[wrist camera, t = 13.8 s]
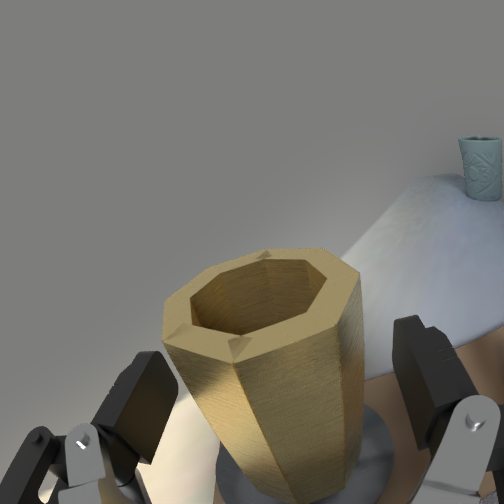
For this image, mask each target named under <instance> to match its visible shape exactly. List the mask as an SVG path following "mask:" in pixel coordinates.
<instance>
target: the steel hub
mask: <svg viewBox="0 0 504 504" xmlns="http://www.w3.org/2000/svg"><path fill="white" fill-rule="evenodd" d="M394 456H395V452H394V443H393V439H392V435H391V433H390V430H389V428H388V426H387V425H386V423H385V422H384V420H383V419H382V418H381V417H380V416H379V414H378V413H377V412H375V411H374V410H373V409H372V408H371V407H369V406H368V405H366V404H364V413H363V431H362V445H361V454H360V456H359V458H358V461H357V463H356V465H355V468H354V470H353V472H352V474H351V477H350V479H349V481H348V483H347V485H346V487H345V488H344V489H343V490H341V491H339V492H336V493H334V494H332V495H329V496H327V497H324V498H322V499H319V500H317V501H314V502H311V503H309V504H376V503H377V502H378V500H379V499H380V497H381V496H382V494H383V492H384V490H385V488H386V486H387V484H388V481H389V479H390V476H391V473H392V469H393V465H394ZM216 481H217V485H218V489H219V492H220V494H221V496H222V498H223V500H224V502H225V503H226V504H290V503H287V502H284V501H281V500H278V499H275V498H273V497H270V496H268V495H265V494H262V493H260V492H258V490H257V489H256V488H255V487H254V485H253V484H252V483H251V482H250V480H249V479H248V478H247V476H246V475H245V474H244V473H243V471H242V470H241V469H240V467H239V466H238V464H237V463H236V462H235V460H234V459H233V458H232V456H231V455H230V453H229V452H228V451H227V449H226V448H225V446H224V445H222V446H221V449H220V451H219V454H218V458H217V463H216Z"/></svg>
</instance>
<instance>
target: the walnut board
mask: <svg viewBox="0 0 504 504" xmlns="http://www.w3.org/2000/svg"><path fill="white" fill-rule="evenodd" d="M454 350H455V351H456V353H457V356H458V357H459V358H460V360H461V362H462V364H463V365H464V367H465V369H466V371H467V373H468V374H469V376H470V378H471V380H472V382H473V384H474V386H475V388H476V390H477V391H478V393H479V394H480V395H482V396H486V397H489V398H490V399H492V400H493V401H494V402H495V403H496V404H499V405H502V404H504V326H502V327H501V328H499V329H497V330H495V331H493V332H491V333H489V334H487V335H485V336H483V337H481V338H479V339H477V340H474V341H472V342H470V343H468V344H466V345H464V346H461V347H459V348H457V349H454ZM364 404H366V405H368V406H369V407H371V408H372V409H373V410H374V411H375V412H377V413H378V414H379V416H380V417H381V418H382V419H383V420H384V422H385V423H386V425H387V426H388V428H389V430H390V433H391V435H392V439H393V443H394V452H395V456H394V465H393V469H392V473H391V476H390V479H389V481H388V484H387V486H386V488H385V490H384V492H383V494H382V496H381V497H380V499H379V500H378V502H377V503H376V504H406V502H407V501H408V499H409V497H410V496H411V494H412V492H413V490H414V489H415V487H416V485H417V483H418V482H419V480H420V478H421V476H422V474H423V472H424V470H425V468H426V466H427V464H428V462H429V460H430V458H431V455H430V451H429V448H427V449H424V450H421V451H418V448H417V444H416V441H415V437H414V433H413V430H412V426H411V423H410V419H409V416H408V412H407V409H406V406H405V403H404V399H403V396H402V393H401V390H400V387H399V384H398V381H397V378H396V375H395V372H393V373H390V374H386V375H383V376H380V377H377V378H373V379H370V380H366V381H364ZM222 445H223V443H222V442H221V440H220V448H219V451H220V449H221V446H222ZM494 491H496V486H495V482H494V478H493V473H492V471H489V472H485V474H484V477H483V479H482V482H481V484H480V487H479V494H480V500H481V499H483V498H484V497H486V496H488V495H489V494H491V493H492V492H494ZM213 504H226V503H225V502H224V500H223V498H222V496H221V494H220V492H219V489H218V485H217V481H216V483H215V492H214V501H213Z"/></svg>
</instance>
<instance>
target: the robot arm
mask: <svg viewBox="0 0 504 504" xmlns="http://www.w3.org/2000/svg"><path fill="white" fill-rule="evenodd" d="M392 362H393V368H394V372H395V375H396V378H397V381H398V384H399V387H400V390H401V393H402V396H403V399H404V403H405V406H406V409H407V412H408V416H409V419H410V423H411V426H412V430H413V433H414V437H415V441H416V444H417V448H418V451H421V450H424V449H427V448H429V451H430V455H431V458H430V460H429V462H428V464H427V466H426V468H425V470H424V472H423V474H422V476H421V478H420V480H419V482H418V483H417V485H416V487H415V489H414V490H413V492H412V494H411V496H410V497H409V499H408V501H407V502H406V504H479V502H480V494H479V487H480V484H481V482H482V479H483V477H484V474H485V472H489V471H492V473H493V478H494V482H495V486H496V491H497V496H498V501H499V504H504V404H502V405H499V404H496V403H495V402H494V401H493V400H492V399H490V398H489V397H486V396H482V395H480V394H479V393H478V391H477V390H476V388H475V386H474V384H473V382H472V380H471V378H470V376H469V374H468V373H467V371H466V369H465V367H464V365H463V364H462V362H461V360H460V358H459V357H458V356H457V353H456V351H455V350H454V348H452V345H451V343H450V341H449V340H448V338H447V336H446V335H445V334H444V333H443V332H441V331H440V330H438V329H437V328H435V327H434V326H433V327H429V328H425V327H424V325H423V323H422V321H421V320H420V318H419V316H418V315H413V316H409V317H405V318H401V319H396V320H395V321H394V330H393V349H392ZM177 395H178V383H177V380H176V378H175V376H174V375H173V373H172V371H171V369H170V368H169V366H168V364H167V362H166V360H165V359H164V357H163V355H162V354H161V353H160V352H159V351H148V352H146V351H145V352H139V353H138V354H137V355H136V357H135V359H134V360H133V362H132V364H131V365H129V366H128V367H127V368H126V369H125V370H124V371H123V372H121V374H120V375H119V376H118V378H117V380H116V381H115V383H114V386H112V388H111V390H110V391H109V394H108V395H107V396H106V398H105V400H104V401H103V403H102V405H101V406H100V408H99V410H98V411H97V413H96V415H95V417H94V418H93V420H92V422H91V423H90V424H87V423H85V424H80V425H78V426H76V427H74V428H73V429H72V430H71V431H70V432H69V433H68V435H66V436H54V435H53V434H52V433H51V431H50V430H49V429H48V428H46V427H44V426H40V427H37V428H35V429H33V430H32V431H31V432H30V433H29V434H28V435H27V437H26V439H25V440H24V442H23V444H22V445H21V447H20V449H19V451H18V452H17V454H16V456H15V458H14V459H13V461H12V463H11V465H10V467H9V468H8V470H7V472H6V474H5V476H4V478H3V480H2V482H1V484H0V504H44V503H43V502H41V500H40V499H39V497H38V490H39V488H40V486H41V484H42V482H43V480H44V477H45V475H46V473H47V471H48V470H49V471H50V472H52V473H53V474H54V475H55V476H57V477H58V481H57V483H56V485H55V487H54V489H53V492H52V494H51V496H50V499H49V501H48V502H47V503H46V504H152V503H151V500H150V498H149V495H148V493H147V490H146V488H145V485H144V482H143V480H142V477H141V474H140V472H139V470H138V469H137V468H136V467H137V464H138V462H139V463H144V464H150V465H151V463H152V460H153V458H154V455H155V452H156V450H157V447H158V444H159V442H160V439H161V437H162V434H163V432H164V429H165V426H166V424H167V421H168V419H169V416H170V413H171V411H172V408H173V406H174V403H175V401H176V398H177Z"/></svg>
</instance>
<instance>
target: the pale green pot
mask: <svg viewBox="0 0 504 504" xmlns="http://www.w3.org/2000/svg"><path fill="white" fill-rule="evenodd" d="M458 141H459V146H460V150H461V154H462V160H463V169H464V176H465V185H466V194H467V196H468V197H470V198H472V199H475V200H480V201H496V200H499V199H501V197H502V179H501V178H502V139H501V138H497V137H490V136H464V137H459V138H458Z"/></svg>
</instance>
